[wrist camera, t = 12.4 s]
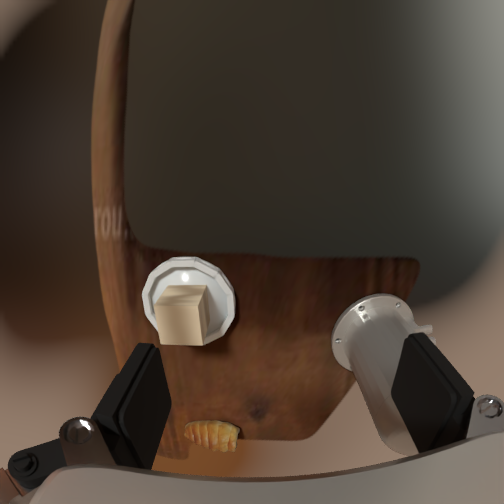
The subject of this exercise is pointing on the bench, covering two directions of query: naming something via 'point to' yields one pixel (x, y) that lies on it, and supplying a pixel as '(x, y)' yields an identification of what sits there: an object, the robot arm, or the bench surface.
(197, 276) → the dish
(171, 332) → the maple block
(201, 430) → the pastry
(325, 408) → the bench surface
